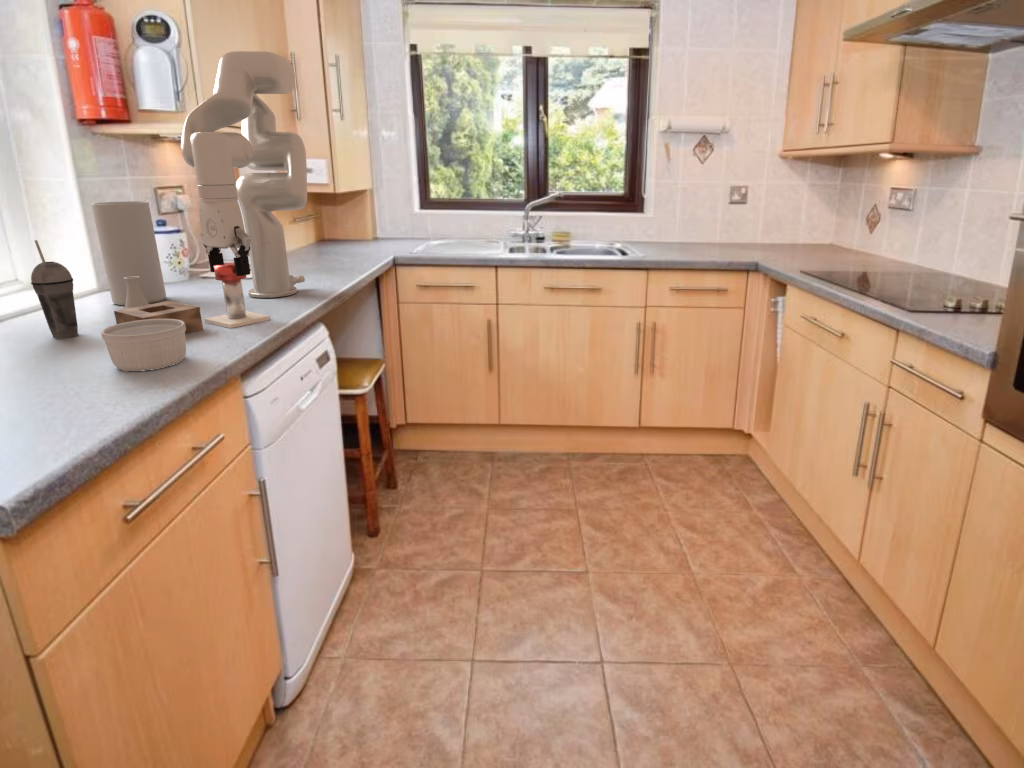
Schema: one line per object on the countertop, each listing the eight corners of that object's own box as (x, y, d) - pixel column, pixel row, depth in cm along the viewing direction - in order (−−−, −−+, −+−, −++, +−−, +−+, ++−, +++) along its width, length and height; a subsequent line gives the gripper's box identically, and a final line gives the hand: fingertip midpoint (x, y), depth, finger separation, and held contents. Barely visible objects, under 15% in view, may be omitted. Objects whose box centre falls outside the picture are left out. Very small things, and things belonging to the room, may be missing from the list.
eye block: (173, 322, 147) (169, 300, 145) (203, 329, 140) (199, 307, 138) (118, 333, 137) (113, 310, 136) (147, 342, 131) (142, 318, 129)
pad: (244, 313, 154) (243, 310, 154) (270, 319, 149) (269, 315, 148) (205, 322, 146) (204, 318, 146) (230, 328, 141) (230, 324, 141)
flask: (149, 315, 154) (141, 273, 151) (163, 319, 150) (154, 276, 146) (117, 321, 149) (107, 277, 145) (130, 325, 144) (120, 281, 141)
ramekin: (155, 350, 125) (148, 315, 123) (207, 357, 121) (201, 320, 119) (92, 370, 114) (83, 332, 111) (146, 378, 109) (138, 338, 107)
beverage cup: (93, 333, 137) (71, 238, 131) (56, 342, 131) (31, 242, 125) (74, 329, 141) (52, 236, 134) (38, 337, 135) (12, 240, 128)
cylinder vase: (108, 308, 162) (86, 205, 154) (116, 298, 173) (96, 202, 164) (164, 303, 166) (145, 203, 158) (168, 294, 177) (151, 200, 169)
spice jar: (216, 318, 147) (207, 265, 143) (241, 312, 152) (233, 261, 148) (232, 321, 143) (224, 267, 139) (257, 316, 148) (250, 263, 144)
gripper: (179, 193, 140) (193, 272, 146) (225, 195, 131) (238, 279, 136) (211, 192, 146) (223, 267, 152) (258, 193, 137) (268, 274, 142)
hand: (230, 273), depth 144 cm, fingers open, 9 cm apart
